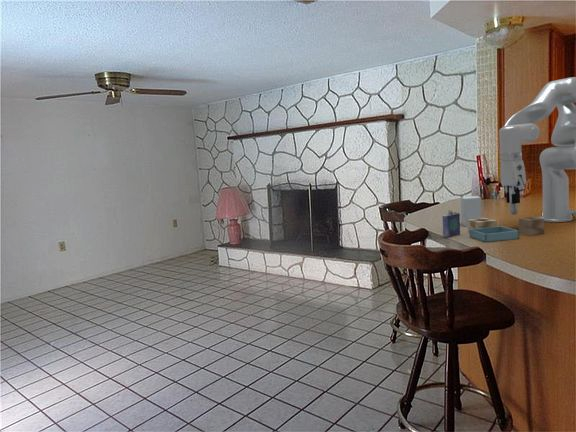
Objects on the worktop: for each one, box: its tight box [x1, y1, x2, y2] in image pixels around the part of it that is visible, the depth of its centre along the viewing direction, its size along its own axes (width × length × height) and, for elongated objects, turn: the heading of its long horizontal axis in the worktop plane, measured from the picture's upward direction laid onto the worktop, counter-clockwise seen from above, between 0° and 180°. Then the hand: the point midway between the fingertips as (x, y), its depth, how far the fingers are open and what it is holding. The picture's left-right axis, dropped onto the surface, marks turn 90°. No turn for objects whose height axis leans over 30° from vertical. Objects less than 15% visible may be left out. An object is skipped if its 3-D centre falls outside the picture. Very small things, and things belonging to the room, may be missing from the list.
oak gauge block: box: [467, 217, 498, 232], centre depth 172 cm, size 8×8×5 cm
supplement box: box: [460, 195, 483, 227], centre depth 189 cm, size 7×7×13 cm
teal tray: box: [469, 225, 520, 243], centre depth 160 cm, size 13×11×3 cm
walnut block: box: [518, 216, 545, 237], centre depth 162 cm, size 6×6×6 cm
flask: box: [441, 209, 461, 238], centre depth 170 cm, size 9×3×11 cm, turn 121°
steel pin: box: [509, 186, 518, 216], centre depth 169 cm, size 3×3×12 cm
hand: (513, 202), depth 170 cm, fingers closed on steel pin, 2 cm apart
